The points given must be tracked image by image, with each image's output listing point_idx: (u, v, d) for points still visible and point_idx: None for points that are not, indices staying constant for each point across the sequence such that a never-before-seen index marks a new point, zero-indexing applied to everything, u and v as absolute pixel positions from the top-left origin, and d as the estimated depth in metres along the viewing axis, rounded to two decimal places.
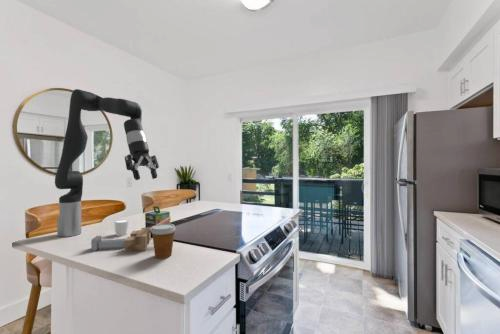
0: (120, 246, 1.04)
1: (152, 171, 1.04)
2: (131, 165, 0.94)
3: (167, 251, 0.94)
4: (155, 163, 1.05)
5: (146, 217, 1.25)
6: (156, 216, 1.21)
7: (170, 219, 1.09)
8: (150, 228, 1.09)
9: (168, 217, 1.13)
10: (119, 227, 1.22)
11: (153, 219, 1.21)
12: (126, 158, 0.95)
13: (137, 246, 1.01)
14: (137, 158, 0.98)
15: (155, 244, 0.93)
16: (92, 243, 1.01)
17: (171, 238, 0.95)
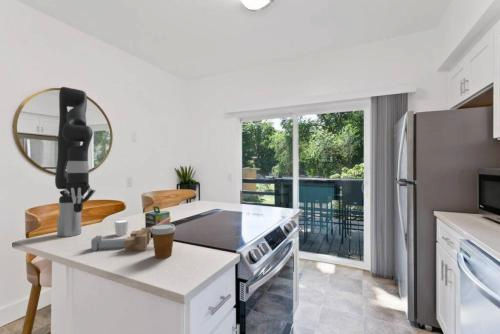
0: (120, 246, 1.04)
1: None
2: (68, 200, 1.00)
3: (167, 251, 0.94)
4: None
5: (146, 217, 1.25)
6: (156, 216, 1.21)
7: (170, 219, 1.09)
8: (150, 228, 1.09)
9: (168, 217, 1.13)
10: (119, 227, 1.22)
11: (153, 219, 1.21)
12: None
13: (137, 246, 1.01)
14: (70, 191, 1.00)
15: (155, 244, 0.93)
16: (92, 243, 1.01)
17: (171, 238, 0.95)
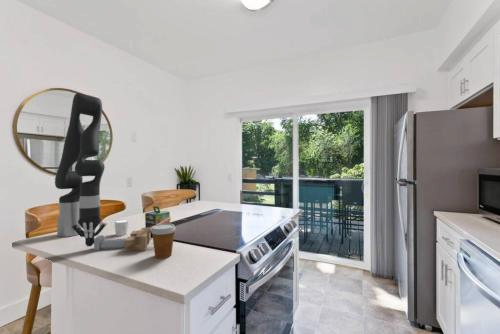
0: (122, 246, 1.05)
1: None
2: (80, 234, 1.01)
3: (167, 251, 0.94)
4: None
5: (146, 217, 1.25)
6: (156, 216, 1.21)
7: (170, 219, 1.09)
8: (150, 228, 1.09)
9: (168, 217, 1.13)
10: (119, 227, 1.22)
11: (153, 219, 1.21)
12: None
13: (137, 246, 1.01)
14: (82, 226, 1.01)
15: (155, 244, 0.93)
16: (95, 243, 1.01)
17: (171, 238, 0.95)
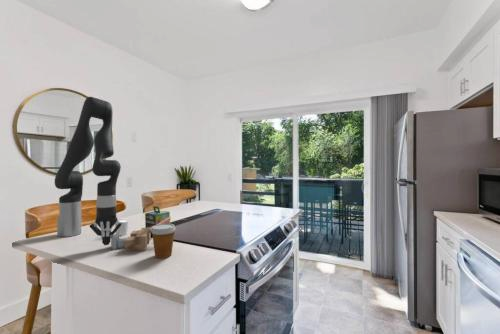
0: None
1: None
2: (97, 233, 1.02)
3: (167, 251, 0.94)
4: None
5: (146, 217, 1.25)
6: (156, 216, 1.21)
7: (170, 219, 1.09)
8: (150, 228, 1.09)
9: (168, 217, 1.13)
10: None
11: (153, 219, 1.21)
12: None
13: (137, 246, 1.01)
14: (99, 225, 1.03)
15: (155, 244, 0.93)
16: (112, 241, 1.03)
17: (171, 238, 0.95)
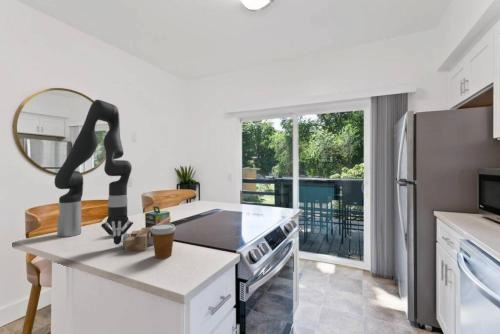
0: (149, 243, 1.08)
1: None
2: (109, 232, 1.03)
3: (167, 251, 0.94)
4: (124, 229, 1.05)
5: (146, 217, 1.25)
6: (156, 216, 1.21)
7: (170, 219, 1.09)
8: (150, 228, 1.09)
9: (168, 217, 1.13)
10: None
11: (153, 219, 1.21)
12: None
13: (137, 246, 1.01)
14: (111, 224, 1.04)
15: (155, 244, 0.93)
16: (123, 241, 1.04)
17: (171, 238, 0.95)
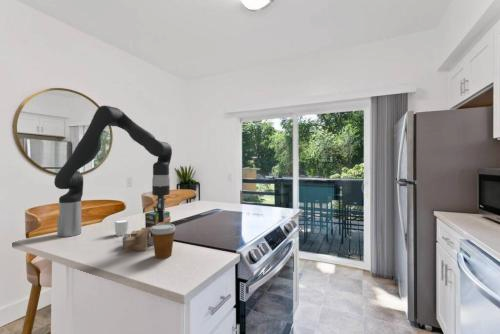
0: (149, 243, 1.08)
1: None
2: (163, 211, 1.08)
3: (167, 251, 0.94)
4: None
5: (146, 217, 1.25)
6: (156, 216, 1.21)
7: (170, 219, 1.09)
8: (150, 228, 1.09)
9: (168, 217, 1.13)
10: (119, 227, 1.22)
11: (153, 219, 1.21)
12: (159, 207, 1.05)
13: (137, 246, 1.01)
14: (163, 203, 1.08)
15: (155, 244, 0.93)
16: (123, 241, 1.04)
17: (171, 238, 0.95)
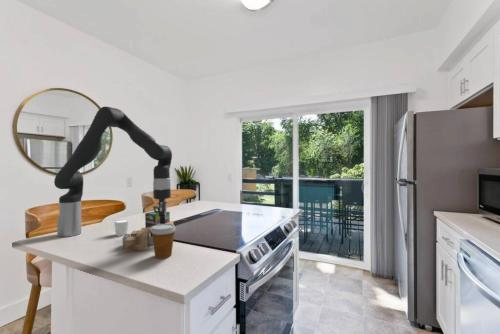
0: (149, 243, 1.08)
1: None
2: (164, 214, 1.08)
3: (167, 251, 0.94)
4: None
5: (146, 217, 1.25)
6: (156, 216, 1.21)
7: None
8: (150, 228, 1.09)
9: None
10: (119, 227, 1.22)
11: (153, 219, 1.21)
12: (161, 211, 1.05)
13: (137, 246, 1.01)
14: (164, 206, 1.08)
15: (155, 244, 0.93)
16: (123, 241, 1.04)
17: (171, 238, 0.95)
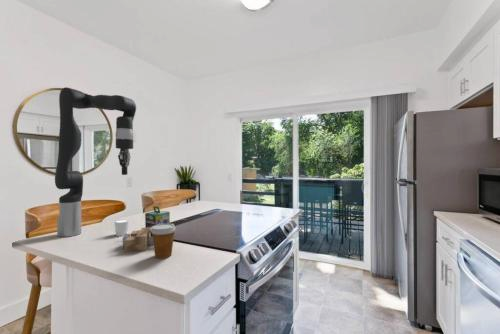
0: (149, 243, 1.08)
1: None
2: (125, 163, 1.12)
3: (167, 251, 0.94)
4: (128, 161, 1.17)
5: (146, 217, 1.25)
6: (156, 216, 1.21)
7: None
8: (151, 228, 1.09)
9: None
10: (119, 227, 1.22)
11: (153, 219, 1.21)
12: (121, 158, 1.09)
13: (137, 246, 1.01)
14: (125, 156, 1.12)
15: (155, 244, 0.93)
16: (123, 241, 1.04)
17: (171, 238, 0.95)
